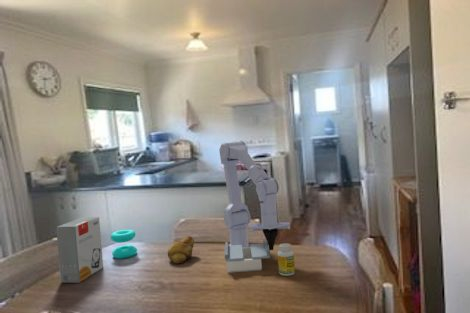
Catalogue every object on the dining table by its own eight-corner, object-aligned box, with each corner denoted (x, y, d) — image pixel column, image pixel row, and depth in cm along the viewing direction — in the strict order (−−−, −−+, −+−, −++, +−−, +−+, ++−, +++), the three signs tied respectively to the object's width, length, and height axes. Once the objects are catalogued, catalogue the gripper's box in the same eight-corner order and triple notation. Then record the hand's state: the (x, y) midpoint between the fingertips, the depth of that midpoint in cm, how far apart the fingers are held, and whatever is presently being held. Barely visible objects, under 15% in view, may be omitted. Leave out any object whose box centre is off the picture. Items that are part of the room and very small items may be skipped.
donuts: (130, 234, 150) (106, 236, 150) (133, 258, 150) (108, 260, 151) (138, 228, 159) (115, 229, 160) (140, 250, 160) (117, 252, 161)
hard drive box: (79, 283, 128) (73, 227, 127) (60, 283, 130) (54, 227, 128) (104, 266, 143) (99, 216, 142) (86, 266, 145) (81, 216, 143)
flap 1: (225, 247, 142) (225, 242, 142) (241, 246, 142) (241, 240, 142) (225, 261, 127) (224, 255, 127) (243, 259, 127) (242, 253, 127)
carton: (227, 258, 142) (226, 248, 142) (258, 256, 142) (257, 246, 142) (227, 272, 128) (226, 261, 128) (261, 270, 128) (261, 259, 128)
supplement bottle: (285, 268, 128) (283, 241, 127) (298, 272, 124) (296, 244, 123) (275, 273, 124) (273, 245, 124) (288, 277, 120) (286, 248, 120)
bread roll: (186, 265, 138) (184, 244, 138) (162, 265, 140) (160, 244, 140) (196, 253, 151) (195, 234, 150) (174, 254, 153) (172, 234, 152)
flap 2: (249, 245, 142) (249, 240, 142) (266, 244, 142) (265, 239, 142) (252, 259, 127) (251, 252, 127) (270, 257, 127) (270, 251, 127)
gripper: (249, 216, 130) (252, 254, 131) (290, 213, 130) (293, 251, 131) (248, 212, 137) (250, 248, 138) (287, 209, 137) (289, 245, 138)
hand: (271, 249), depth 135 cm, fingers closed
